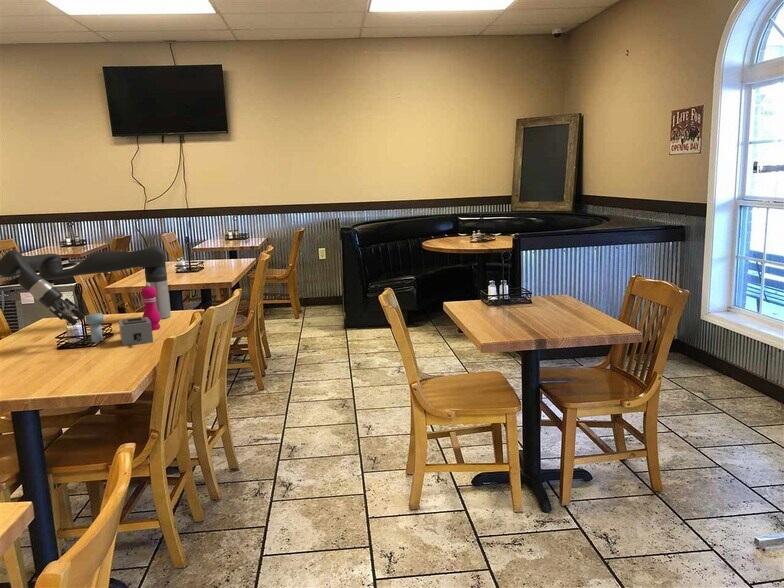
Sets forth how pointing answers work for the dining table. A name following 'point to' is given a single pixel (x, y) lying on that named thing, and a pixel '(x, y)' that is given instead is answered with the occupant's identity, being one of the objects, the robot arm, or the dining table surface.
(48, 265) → the robot arm
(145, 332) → the grey block
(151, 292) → the pepper mill
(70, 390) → the dining table surface
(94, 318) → the peg
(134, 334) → the plunger
